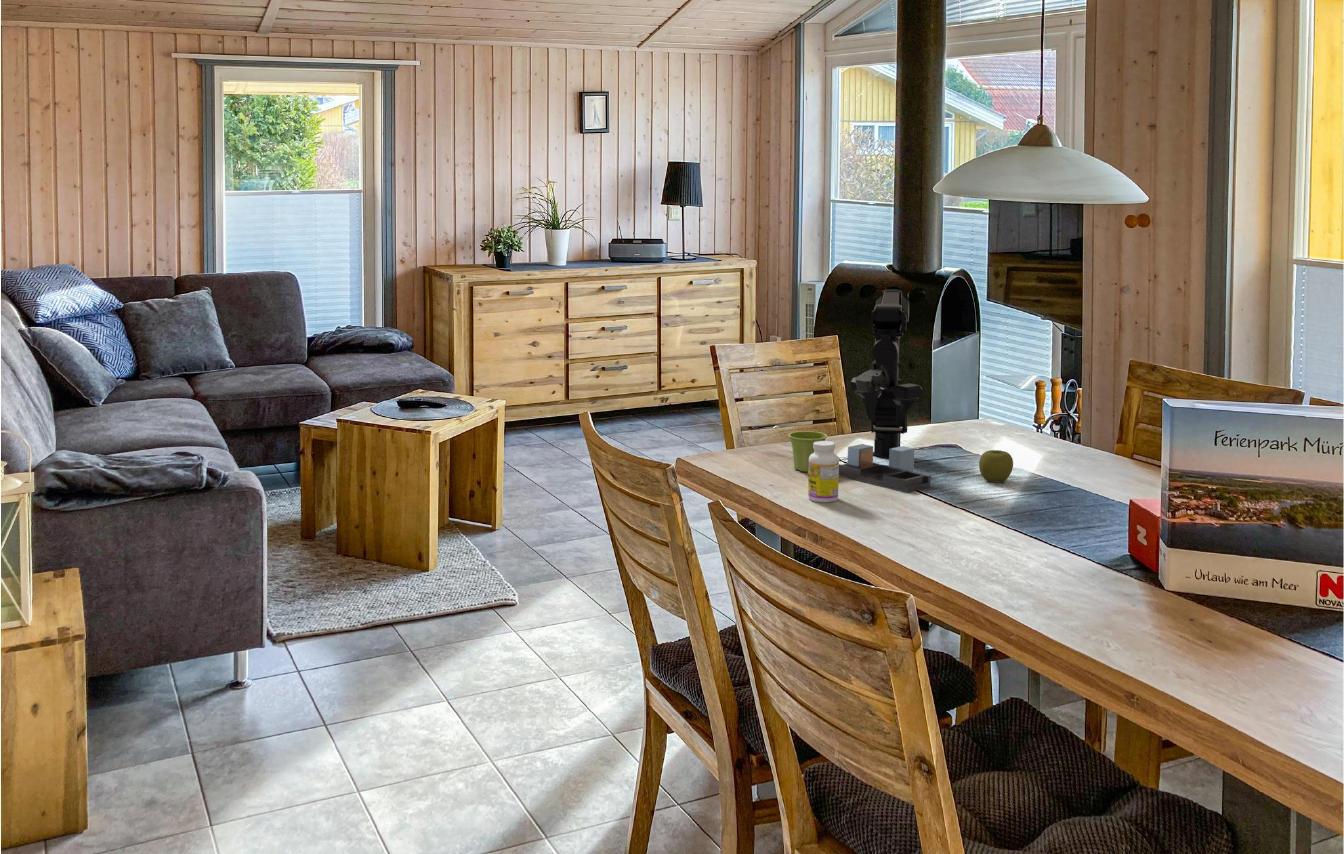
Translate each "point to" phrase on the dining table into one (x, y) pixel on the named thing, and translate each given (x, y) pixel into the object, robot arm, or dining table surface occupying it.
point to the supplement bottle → (823, 473)
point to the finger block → (902, 458)
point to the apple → (995, 465)
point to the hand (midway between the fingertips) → (884, 422)
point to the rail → (880, 471)
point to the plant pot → (804, 447)
